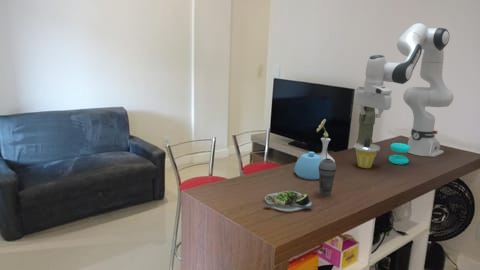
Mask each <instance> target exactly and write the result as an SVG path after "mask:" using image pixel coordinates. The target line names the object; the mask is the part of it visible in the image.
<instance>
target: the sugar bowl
mask: <svg viewBox="0 0 480 270" xmlns="http://www.w3.org/2000/svg"><path fill="white" fill-rule="evenodd" d="M321 161H322V158H321V156H319V154H316V153H315V152H314V151H308V152H307V153H303V154H301V156H299V158H298V160H297V161H296V163H295V164H294V165H295V166H294V168H293V169H294V170H293V171H294V173H295V174H296V175H297V177H299V178H301V179H303V180H304V179H306V180H309V181H310V180H313V181H315V180H319V168H318V167H319V164H320V162H321Z"/></svg>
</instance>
